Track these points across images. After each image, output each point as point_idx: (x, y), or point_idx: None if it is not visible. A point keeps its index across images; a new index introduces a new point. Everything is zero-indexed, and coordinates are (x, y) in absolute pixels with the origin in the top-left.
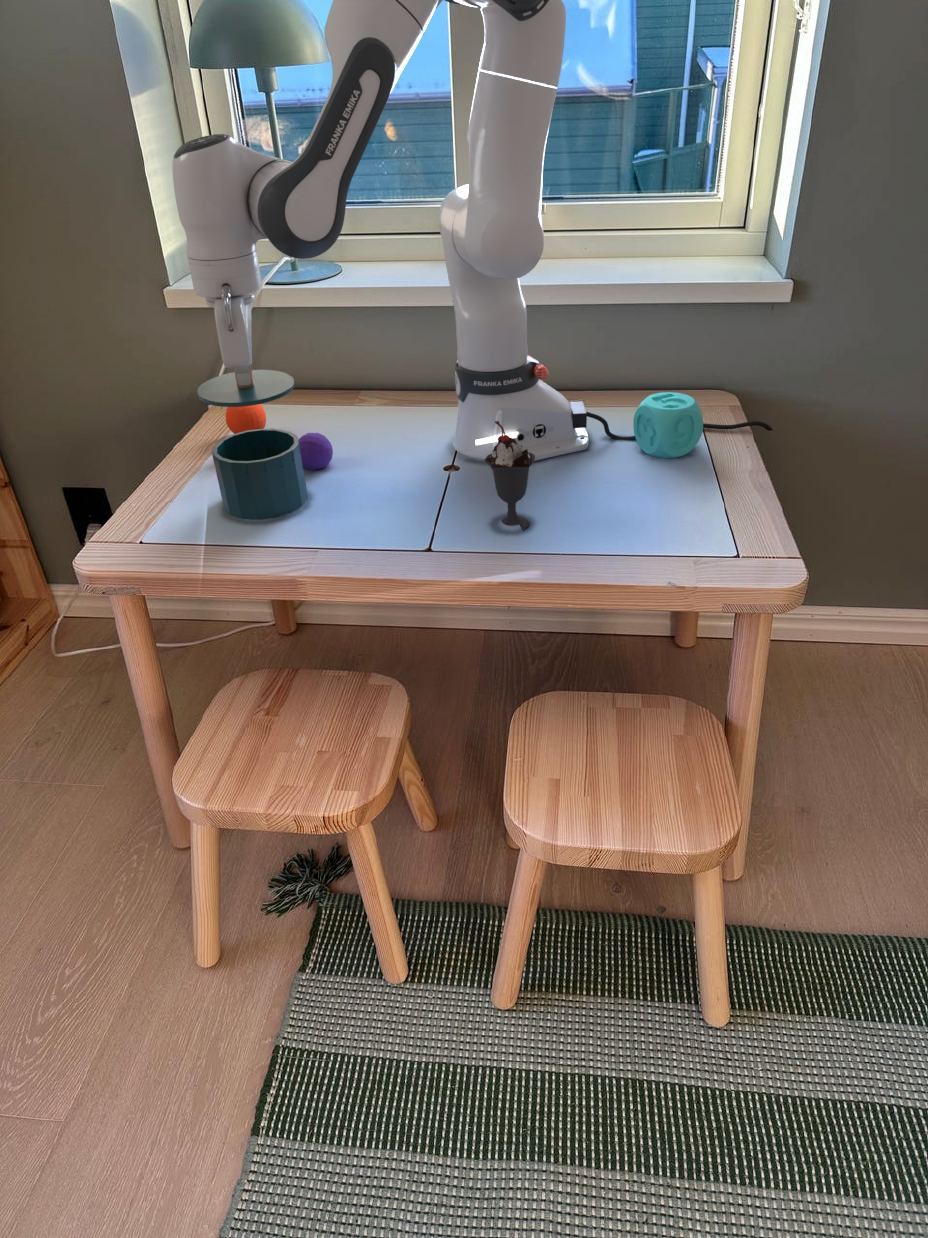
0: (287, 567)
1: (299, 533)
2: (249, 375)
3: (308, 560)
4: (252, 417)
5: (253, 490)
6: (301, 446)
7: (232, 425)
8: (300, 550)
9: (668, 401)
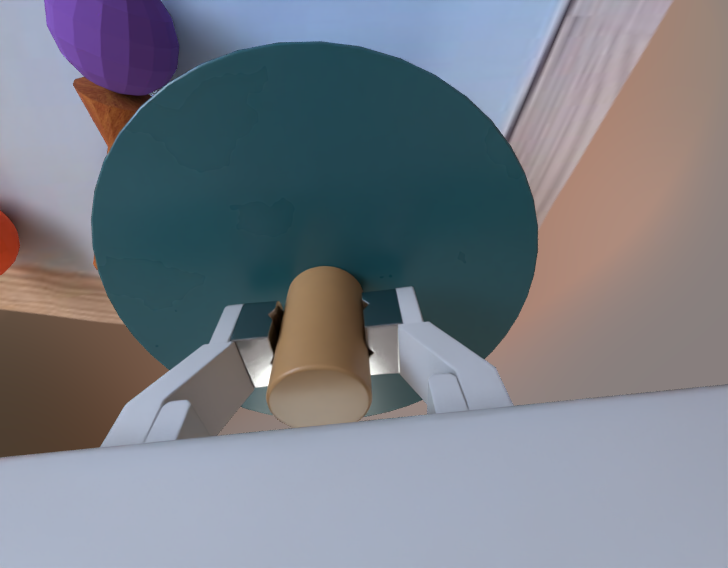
0: (605, 86)
1: (480, 67)
2: (419, 310)
3: (602, 39)
4: None
5: None
6: (146, 70)
7: (10, 262)
8: (553, 61)
9: None
